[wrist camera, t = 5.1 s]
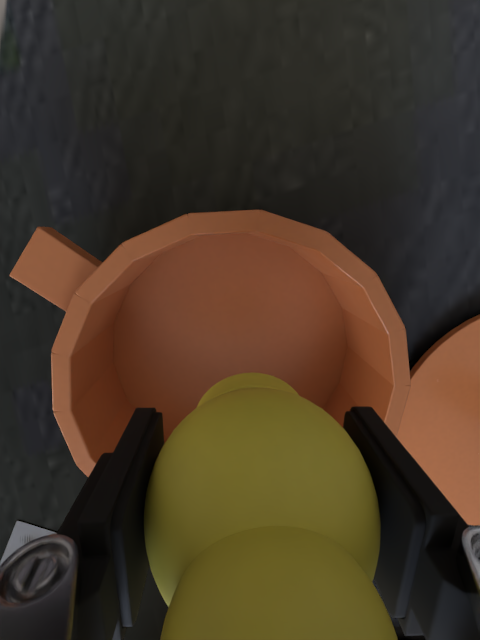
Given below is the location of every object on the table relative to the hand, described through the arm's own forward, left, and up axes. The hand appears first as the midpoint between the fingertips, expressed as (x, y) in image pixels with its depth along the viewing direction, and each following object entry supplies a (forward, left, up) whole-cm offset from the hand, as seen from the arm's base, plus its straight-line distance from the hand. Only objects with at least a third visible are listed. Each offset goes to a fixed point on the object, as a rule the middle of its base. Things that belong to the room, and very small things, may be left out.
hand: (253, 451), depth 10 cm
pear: (0, 0, -1) cm, 1 cm away
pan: (+1, 0, -10) cm, 10 cm away
